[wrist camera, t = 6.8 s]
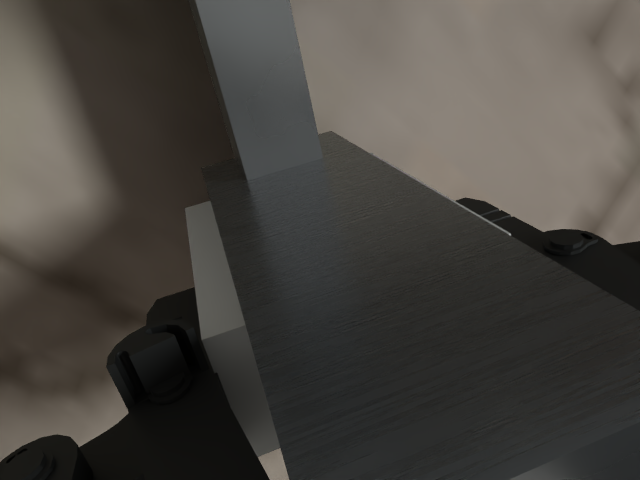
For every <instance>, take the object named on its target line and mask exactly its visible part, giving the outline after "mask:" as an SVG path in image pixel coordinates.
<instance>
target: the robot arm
mask: <svg viewBox="0 0 640 480" xmlns="http://www.w3.org/2000/svg"><path fill="white" fill-rule="evenodd" d="M370 154H372V155H373V156H375V157H377V158H379V157H378V156H376V155H374V154H373V153H370ZM379 159H380V160H382V161H384V162H385V163H387V164H389V165H391V166H392V167H394V168H396V169H397V170H399V171H401V172H403V173H404V174H406V175H408V176H409V177H411V178H413V179H415V180H416V181H418V182H420V183H421V184H423V185H425V186H426V187H428V188H430V189H432V190H433V191H435V192H437V193H438V194H440V195H442V196H444V197H445V198H447V199H449V200H450V201H452V202H454V203H456V204H457V205H459V206H461V207H462V208H464V209H466V210H468V211H469V212H471V213H473V214H474V215H476V216H478V217H480V218H481V219H483V220H485V221H486V222H488V223H490V224H492V225H493V226H495V227H497V228H498V229H500V230H502V231H504V232H505V233H507V234H509V235H510V236H512V237H514V238H516V239H517V240H519V241H521V242H522V243H524V244H526V245H528V246H529V247H531V248H533V249H534V250H536V251H538V252H540V253H541V254H543V255H545V256H546V257H548V258H550V259H551V260H553V261H555V262H557V263H558V264H560V265H562V266H563V267H565V268H567V269H569V270H570V271H572V272H574V273H575V274H577V275H579V276H581V277H582V278H584V279H586V280H587V281H589V282H591V283H593V284H594V285H596V286H598V287H599V288H601V289H603V290H605V291H606V292H608V293H610V294H611V295H613V296H615V297H617V298H618V299H620V300H622V301H623V302H625V303H627V304H629V305H630V306H632V307H634V308H635V309H637V310H639V311H640V241H638V242H631V243H624V244H617V245H611V244H610V243H609V242H607V241H606V240H604V239H603V238H601V237H599V236H597V235H595V234H593V233H590V232H587V231H581V230H572V229H559V230H552V231H546V232H542V231H540V230H538V229H536V228H534V227H533V226H531V225H529V224H527V223H525V222H523V221H521V220H519V219H517V218H515V217H511V216H510V214H508V213H506V212H504V211H502V210H501V211H499V209H498V208H496V207H494V206H493V205H491V204H489V203H487V202H485V201H480V200H475V199H470V198H463V199H460V200H456V201H454V200H452V199H450V198H449V197H447V196H445V195H443V194H442V193H440V192H438V191H437V190H435V189H433V188H431V187H430V186H428V185H426V184H424V183H423V182H421V181H419V180H418V179H416V178H414V177H412V176H411V175H409V174H407V173H405V172H404V171H402V170H400V169H398V168H397V167H395V166H393V165H392V164H390V163H388V162H386V161H385V160H383V159H381V158H379ZM185 214H186V222H187V230H188V238H189V246H190V253H191V261H192V269H193V277H194V285H195V287H194V288H191V289H188V290H185V291H182V292H179V293H176V294H173V295H169V296H166V297H163V298H160V299H157V300H156V302H155V303H154V305H153V306H152V308H151V309H150V311H149V312H148V314H147V321H146V326H144V327H142V328H140V329H139V330H137V331H135V332H133V333H131V334H129V335H128V336H127V337H125V338H124V339H123V340H122V341H121V342H119V343H118V344H117V345H116V346H115V347H114V349H113V350H112V352H111V353H110V354H109V356H108V359H107V366H106V367H107V369H108V371H109V373H110V375H111V377H112V379H113V381H114V383H115V385H116V387H117V389H118V391H119V393H120V395H121V397H122V399H123V401H124V403H125V405H126V407H127V409H128V412H129V413H128V414H127V415H126V416H125V417H124V418H123V419H122V420H121V421H120V422H119V423H117V424H116V425H115V426H113V427H112V428H110V429H109V430H107V431H106V432H104V433H103V434H101V435H99V436H98V437H96V438H94V439H93V440H91V441H89V442H88V443H86V444H84V445H82V446H81V447H78V445H77V444H76V443H75V442H74V440H73V439H72V438H71V437H69V436H63V435H52V436H47V437H42V438H39V439H37V440H35V441H32V442H30V443H28V444H26V445H24V446H22V447H20V448H19V449H17V450H15V451H14V452H12V453H11V454H10V455H8V456H7V457H6V458H4V459H3V460H2V461H1V462H0V480H270V479H269V478H268V476H267V474H266V472H265V470H264V468H263V466H262V465H261V463H260V461H259V459H258V456H261V455H263V454H266V453H269V452H271V451H274V450H276V449H279V448H280V444H279V441H278V437H277V434H276V430H275V427H274V423H273V420H272V416H271V413H270V409H269V406H268V402H267V399H266V395H265V392H264V388H263V385H262V381H261V378H260V374H259V370H258V367H257V363H256V360H255V356H254V353H253V349H252V346H251V342H250V339H249V335H248V332H247V328H246V325H245V321H244V318H243V314H242V311H241V307H240V304H239V300H238V296H237V293H236V289H235V286H234V282H233V279H232V275H231V272H230V268H229V265H228V261H227V258H226V254H225V251H224V247H223V244H222V240H221V237H220V233H219V230H218V226H217V223H216V219H215V215H214V212H213V208H212V205H211V201H207V202H204V203H200V204H197V205H194V206H190V207H187V208H185Z"/></svg>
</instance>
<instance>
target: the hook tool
mask: <svg viewBox="0 0 640 480" xmlns="http://www.w3.org/2000/svg"><path fill="white" fill-rule="evenodd" d="M188 1H189V5H190V8H191V11H192V15H193V18H194V22H195V25H196V28H197V32H198V35H199V39H200V42H201V45H202V49H203V52H204V56H205V59H206V62H207V66H208V69H209V73H210V76H211V79H212V83H213V86H214V90H215V93H216V96H217V100H218V103H219V107H220V110H221V113H222V117H223V120H224V124H225V127H226V130H227V134H228V137H229V141H230V144H231V147H232V151H233V154H234V159H231V160H227V161H224V162H220V163H217V164H213V165H210V166H206V167H203V168H201V170H202V173H203V177H204V180H205V184H206V187H207V191H208V194H209V198H210V201H211V205H212V208H213V212H214V215H215V219H216V223H217V226H218V230H219V233H220V237H221V240H222V244H223V247H224V251H225V254H226V258H227V261H228V265H229V268H230V272H231V275H232V279H233V282H234V286H235V289H236V293H237V296H238V300H239V304H240V307H241V311H242V314H243V318H244V321H245V325H246V328H247V332H248V335H249V339H250V342H251V346H252V349H253V353H254V356H255V360H256V363H257V367H258V370H259V374H260V378H261V381H262V385H263V388H264V392H265V395H266V399H267V402H268V406H269V409H270V413H271V416H272V420H273V423H274V427H275V430H276V434H277V437H278V441H279V444H280V448H281V452H282V455H283V459H284V462H285V466H286V469H287V473H288V476H289V480H640V311H639V310H637V309H635V308H634V307H632V306H630V305H629V304H627V303H625V302H623V301H622V300H620V299H618V298H617V297H615V296H613V295H611V294H610V293H608V292H606V291H605V290H603V289H601V288H599V287H598V286H596V285H594V284H593V283H591V282H589V281H587V280H586V279H584V278H582V277H581V276H579V275H577V274H575V273H574V272H572V271H570V270H569V269H567V268H565V267H563V266H562V265H560V264H558V263H557V262H555V261H553V260H551V259H550V258H548V257H546V256H545V255H543V254H541V253H540V252H538V251H536V250H534V249H533V248H531V247H529V246H528V245H526V244H524V243H522V242H521V241H519V240H517V239H516V238H514V237H512V236H510V235H509V234H507V233H505V232H504V231H502V230H500V229H498V228H497V227H495V226H493V225H492V224H490V223H488V222H486V221H485V220H483V219H481V218H480V217H478V216H476V215H474V214H473V213H471V212H469V211H468V210H466V209H464V208H462V207H461V206H459V205H457V204H456V203H454V202H452V201H450V200H449V199H447V198H445V197H444V196H442V195H440V194H438V193H437V192H435V191H433V190H432V189H430V188H428V187H426V186H425V185H423V184H421V183H420V182H418V181H416V180H415V179H413V178H411V177H409V176H408V175H406V174H404V173H403V172H401V171H399V170H397V169H396V168H394V167H392V166H391V165H389V164H387V163H385V162H384V161H382V160H380V159H379V158H377V157H375V156H373V155H372V154H370V153H368V152H367V151H365V150H363V149H361V148H360V147H358V146H356V145H355V144H353V143H351V142H349V141H348V140H346V139H344V138H343V137H341V136H339V135H337V134H336V133H334V132H332V131H329V132H326V133H322V134H319V135H318V132H317V128H316V123H315V118H314V114H313V109H312V104H311V100H310V95H309V90H308V85H307V81H306V76H305V71H304V67H303V62H302V57H301V53H300V48H299V43H298V39H297V34H296V29H295V25H294V20H293V15H292V11H291V6H290V1H289V0H188Z"/></svg>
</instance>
